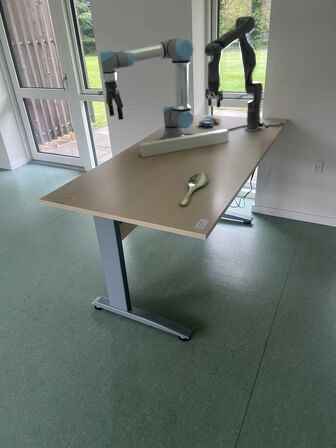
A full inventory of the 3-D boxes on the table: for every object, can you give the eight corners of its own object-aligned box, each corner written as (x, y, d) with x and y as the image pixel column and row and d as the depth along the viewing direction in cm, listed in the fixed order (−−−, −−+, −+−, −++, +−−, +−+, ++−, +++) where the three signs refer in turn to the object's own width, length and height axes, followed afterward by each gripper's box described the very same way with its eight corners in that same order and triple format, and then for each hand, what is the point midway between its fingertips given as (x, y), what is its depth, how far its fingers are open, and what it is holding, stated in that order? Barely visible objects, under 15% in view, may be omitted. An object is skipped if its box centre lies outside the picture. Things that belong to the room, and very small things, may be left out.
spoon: (193, 209, 156) (193, 205, 155) (172, 207, 159) (171, 203, 158) (212, 175, 182) (212, 172, 181) (193, 174, 186) (193, 170, 184)
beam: (142, 157, 218) (141, 145, 214) (140, 154, 223) (139, 143, 219) (228, 141, 231) (228, 130, 227) (225, 139, 235) (225, 129, 231)
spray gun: (223, 120, 277) (206, 120, 284) (223, 115, 275) (206, 115, 281) (214, 128, 262) (197, 127, 268) (214, 122, 260) (196, 122, 266)
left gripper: (97, 79, 204) (103, 115, 215) (113, 83, 185) (119, 122, 196) (108, 78, 207) (114, 113, 218) (125, 81, 188) (130, 119, 199)
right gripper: (226, 79, 204) (225, 106, 212) (211, 77, 214) (211, 103, 223) (216, 81, 201) (216, 109, 209) (201, 79, 211) (202, 106, 220)
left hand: (116, 117), depth 207 cm, fingers open, 13 cm apart
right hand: (214, 106), depth 216 cm, fingers open, 8 cm apart
